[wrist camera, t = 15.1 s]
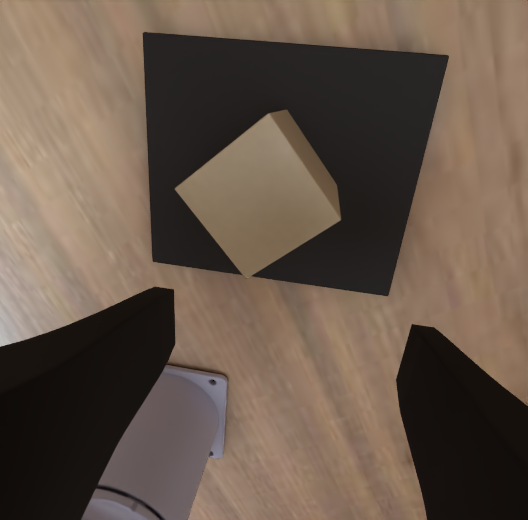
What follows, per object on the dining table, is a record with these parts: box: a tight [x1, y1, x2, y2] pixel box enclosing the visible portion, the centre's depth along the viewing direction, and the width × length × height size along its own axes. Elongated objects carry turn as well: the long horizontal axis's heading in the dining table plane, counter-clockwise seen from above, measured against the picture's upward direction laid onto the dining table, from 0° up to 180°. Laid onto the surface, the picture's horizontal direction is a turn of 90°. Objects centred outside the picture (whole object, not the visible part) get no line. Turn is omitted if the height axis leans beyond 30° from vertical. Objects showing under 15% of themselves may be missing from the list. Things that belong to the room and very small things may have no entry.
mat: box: [143, 32, 449, 296], centre depth 19 cm, size 14×12×1 cm
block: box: [175, 110, 341, 279], centre depth 16 cm, size 4×4×6 cm
